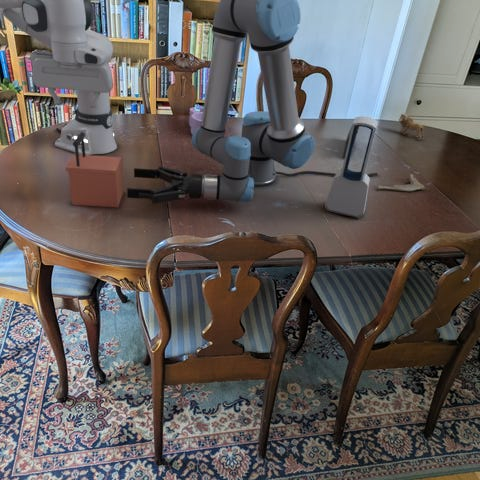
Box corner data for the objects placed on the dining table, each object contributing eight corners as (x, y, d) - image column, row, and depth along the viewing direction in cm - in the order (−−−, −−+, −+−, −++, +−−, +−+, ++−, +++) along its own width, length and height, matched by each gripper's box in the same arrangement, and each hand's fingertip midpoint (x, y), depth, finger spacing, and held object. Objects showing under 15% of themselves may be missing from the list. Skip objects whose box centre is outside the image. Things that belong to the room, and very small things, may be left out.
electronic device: (364, 210, 152) (388, 120, 136) (361, 221, 146) (387, 128, 130) (327, 201, 155) (346, 112, 139) (322, 211, 149) (342, 119, 133)
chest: (72, 204, 138) (68, 171, 133) (80, 190, 146) (77, 158, 140) (117, 207, 139) (115, 174, 134) (123, 193, 147) (121, 161, 142)
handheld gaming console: (349, 160, 187) (354, 136, 182) (342, 158, 188) (347, 134, 183) (355, 142, 206) (361, 119, 201) (349, 140, 207) (354, 118, 201)
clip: (182, 123, 206) (183, 107, 202) (209, 122, 210) (210, 106, 207) (197, 140, 191) (197, 123, 187) (225, 138, 195) (226, 122, 191)
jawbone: (429, 189, 172) (431, 184, 171) (394, 201, 161) (396, 196, 160) (410, 177, 177) (412, 172, 176) (375, 189, 167) (376, 184, 165)
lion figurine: (393, 132, 222) (398, 113, 217) (398, 130, 225) (403, 111, 221) (423, 141, 214) (429, 122, 210) (427, 139, 218) (433, 120, 213)
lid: (65, 171, 132) (62, 142, 128) (74, 158, 140) (71, 130, 136) (115, 174, 134) (114, 145, 129) (121, 161, 141) (120, 133, 137)
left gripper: (24, 51, 116) (32, 106, 124) (107, 58, 118) (111, 112, 125) (33, 46, 122) (40, 99, 129) (112, 53, 123) (115, 105, 131)
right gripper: (200, 218, 132) (124, 214, 131) (202, 179, 153) (137, 175, 151) (202, 194, 128) (123, 190, 127) (203, 158, 149) (136, 154, 147)
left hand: (75, 105), depth 127 cm, fingers open, 8 cm apart
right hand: (130, 182), depth 139 cm, fingers open, 13 cm apart
